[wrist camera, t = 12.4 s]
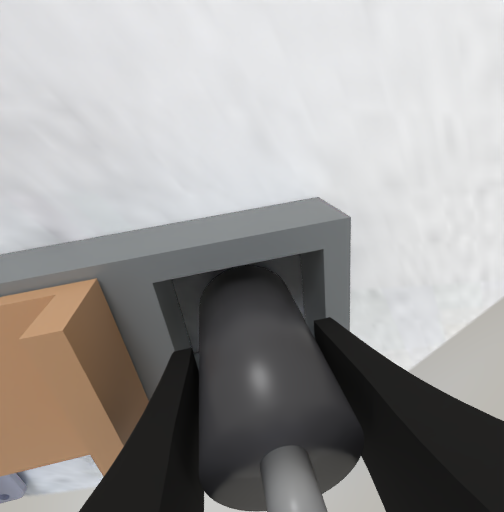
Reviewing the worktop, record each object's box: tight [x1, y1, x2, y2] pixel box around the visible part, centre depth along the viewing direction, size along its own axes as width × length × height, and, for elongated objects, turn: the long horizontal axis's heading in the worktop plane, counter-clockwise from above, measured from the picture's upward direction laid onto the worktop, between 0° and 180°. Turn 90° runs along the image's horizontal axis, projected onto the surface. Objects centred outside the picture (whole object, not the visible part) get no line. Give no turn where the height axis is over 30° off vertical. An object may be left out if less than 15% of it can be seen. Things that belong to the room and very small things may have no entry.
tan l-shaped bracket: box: [0, 278, 149, 477], centre depth 9 cm, size 7×7×3 cm
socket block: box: [0, 197, 351, 401], centre depth 12 cm, size 15×8×3 cm, turn 98°
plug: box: [199, 266, 364, 512], centre depth 9 cm, size 4×4×8 cm
